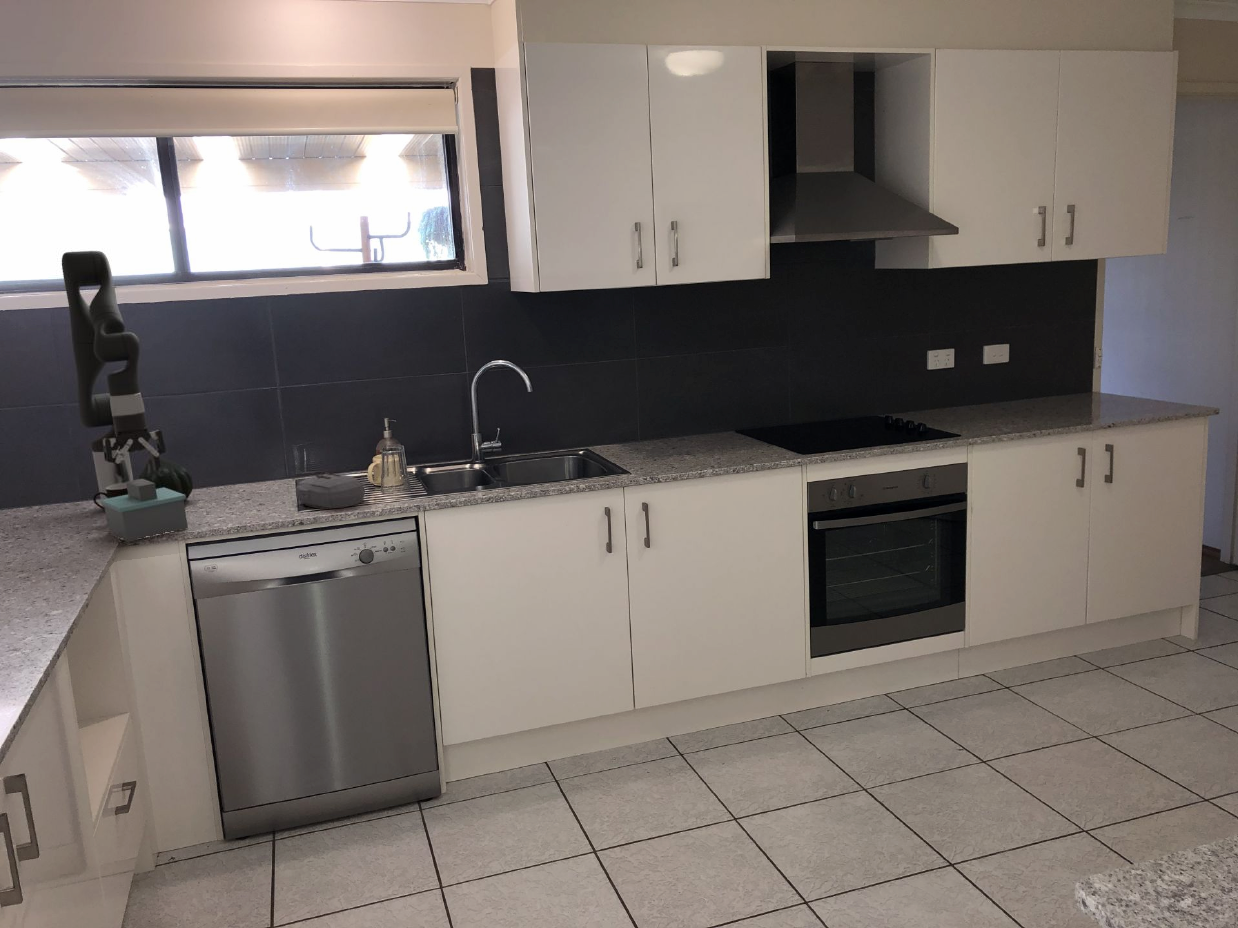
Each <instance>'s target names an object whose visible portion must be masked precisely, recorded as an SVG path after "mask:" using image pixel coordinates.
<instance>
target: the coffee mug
mask: <svg viewBox="0 0 1238 928" xmlns="http://www.w3.org/2000/svg"><path fill="white" fill-rule="evenodd" d="M106 492H107V493H103V492H100V491H99V492H97V493H95V494H94V495H93V497H92V498H93V499H92V500H93V503H94V504H95V505H96V506H97V507H99V508H100V509H102V510H103V509H104V510H103V511H105V507H103V506H102V504H101V505H100V503H98V502H97V497H98V496H100V494H102V495H105V496H106V497H107V498H113V497H118V496H123V495H128V490H127V484H126V483H120V484H115V485H111V486H108V487H106Z"/></svg>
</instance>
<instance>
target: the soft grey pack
mask: <svg viewBox="0 0 1238 928" xmlns="http://www.w3.org/2000/svg"><path fill="white" fill-rule="evenodd" d="M365 493H366V489H365V487H364V484H363V483H362V482H361V481H360V480H358V479H357V478H355V477H354V476H349V475H346V474H340V473H333V472H325V474H321V475H320V474H315V476H313V477H310V478H305V479H304V480H301V481H300V482H298V483H297V484H296V487H295V494H296V497H297V500H298V501H299V502H300V503H302V504H303V505H305V506H306V507H311V508H315V509H323V510H325V509H327V510H328V509H342V508H347V507H351V506H356V505H358V504H361V503H362V502H363V501H364V499H365Z"/></svg>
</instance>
